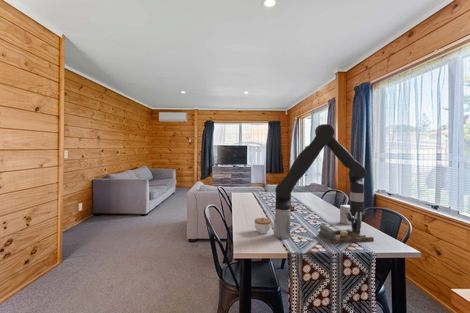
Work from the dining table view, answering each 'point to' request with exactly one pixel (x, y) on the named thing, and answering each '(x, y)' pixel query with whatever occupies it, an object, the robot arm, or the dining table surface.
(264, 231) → the lidded jar
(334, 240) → the press base
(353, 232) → the press jaw
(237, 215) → the dining table surface
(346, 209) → the supplement box
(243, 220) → the dining table surface
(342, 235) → the hazelnut
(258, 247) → the dining table surface
